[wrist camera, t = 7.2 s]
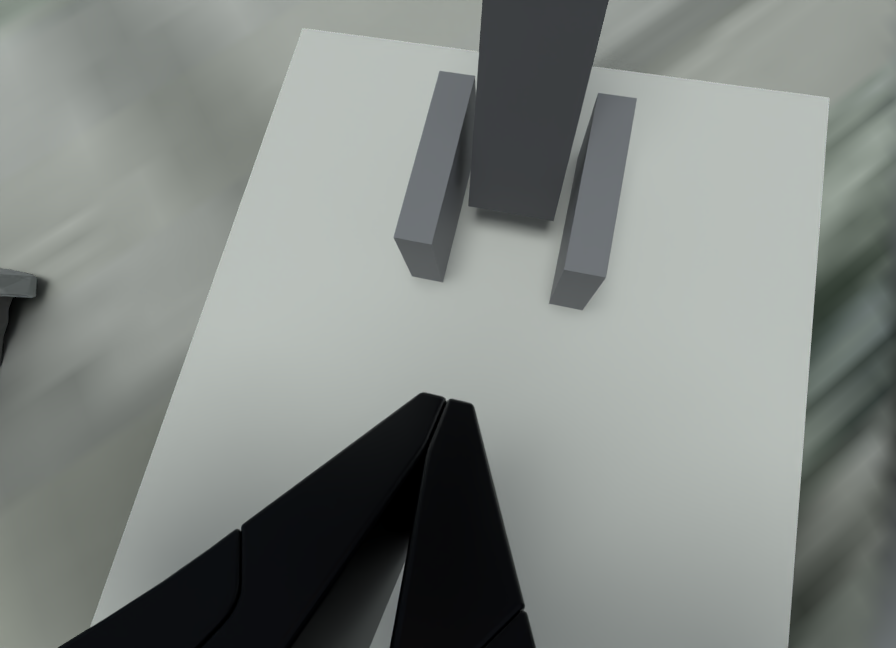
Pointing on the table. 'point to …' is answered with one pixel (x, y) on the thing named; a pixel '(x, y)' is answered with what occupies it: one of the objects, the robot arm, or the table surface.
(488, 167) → the handle
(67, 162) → the table surface
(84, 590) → the table surface
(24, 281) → the electrical switch
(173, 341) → the table surface
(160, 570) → the thin white panel
